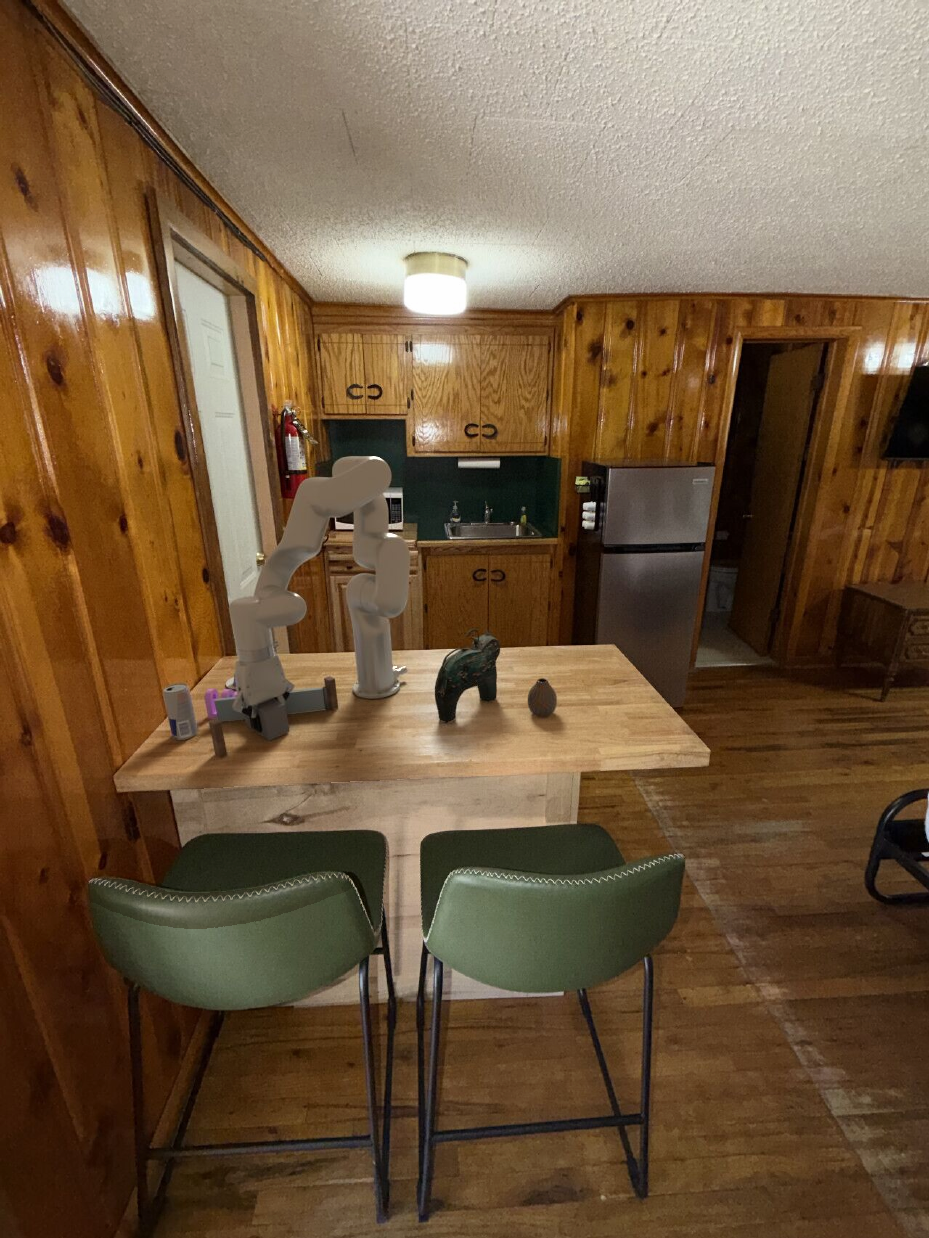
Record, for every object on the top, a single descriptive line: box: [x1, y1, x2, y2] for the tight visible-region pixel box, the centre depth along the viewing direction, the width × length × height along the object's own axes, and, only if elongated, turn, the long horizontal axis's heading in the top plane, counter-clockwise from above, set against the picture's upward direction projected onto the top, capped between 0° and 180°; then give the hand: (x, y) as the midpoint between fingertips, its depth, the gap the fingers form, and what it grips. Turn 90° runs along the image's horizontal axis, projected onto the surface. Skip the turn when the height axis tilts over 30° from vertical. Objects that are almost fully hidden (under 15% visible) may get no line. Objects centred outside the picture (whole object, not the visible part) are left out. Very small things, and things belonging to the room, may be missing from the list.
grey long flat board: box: [214, 685, 330, 723], centre depth 131 cm, size 26×1×6 cm, turn 101°
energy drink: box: [162, 682, 199, 741], centre depth 123 cm, size 5×5×12 cm
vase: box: [527, 677, 558, 718], centre depth 128 cm, size 7×7×9 cm
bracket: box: [204, 688, 237, 719], centre depth 137 cm, size 13×6×7 cm, turn 175°
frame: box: [208, 675, 339, 759], centre depth 125 cm, size 30×2×8 cm, turn 137°
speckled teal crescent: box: [434, 628, 501, 724], centre depth 130 cm, size 20×6×20 cm, turn 135°
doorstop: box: [245, 698, 290, 741], centre depth 125 cm, size 5×11×7 cm, turn 46°
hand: (269, 724), depth 125 cm, fingers closed on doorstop, 5 cm apart
